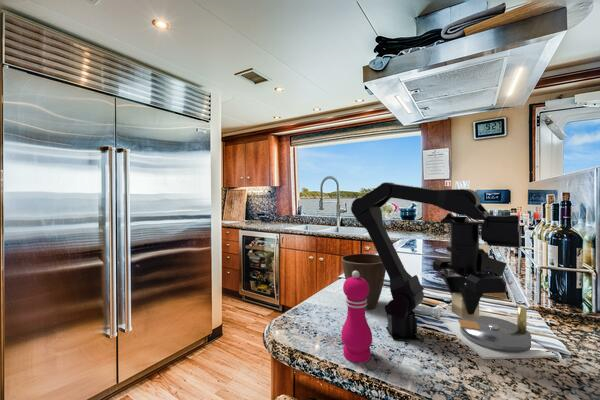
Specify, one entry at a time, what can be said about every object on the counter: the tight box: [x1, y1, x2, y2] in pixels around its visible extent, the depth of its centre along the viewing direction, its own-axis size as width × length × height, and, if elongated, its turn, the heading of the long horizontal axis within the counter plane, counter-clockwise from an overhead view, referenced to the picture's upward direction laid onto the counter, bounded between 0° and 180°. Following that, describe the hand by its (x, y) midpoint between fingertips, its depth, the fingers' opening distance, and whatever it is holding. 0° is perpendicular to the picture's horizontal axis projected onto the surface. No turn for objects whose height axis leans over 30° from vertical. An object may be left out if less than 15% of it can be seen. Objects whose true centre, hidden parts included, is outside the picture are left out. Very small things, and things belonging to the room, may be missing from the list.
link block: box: [451, 293, 480, 320], centre depth 65 cm, size 4×4×4 cm
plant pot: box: [341, 253, 387, 310], centre depth 95 cm, size 15×15×16 cm
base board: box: [442, 321, 558, 360], centre depth 72 cm, size 17×17×1 cm
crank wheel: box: [457, 306, 532, 352], centre depth 72 cm, size 15×15×8 cm
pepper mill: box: [340, 271, 373, 364], centre depth 66 cm, size 7×7×20 cm
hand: (465, 310), depth 65 cm, fingers closed on link block, 4 cm apart
